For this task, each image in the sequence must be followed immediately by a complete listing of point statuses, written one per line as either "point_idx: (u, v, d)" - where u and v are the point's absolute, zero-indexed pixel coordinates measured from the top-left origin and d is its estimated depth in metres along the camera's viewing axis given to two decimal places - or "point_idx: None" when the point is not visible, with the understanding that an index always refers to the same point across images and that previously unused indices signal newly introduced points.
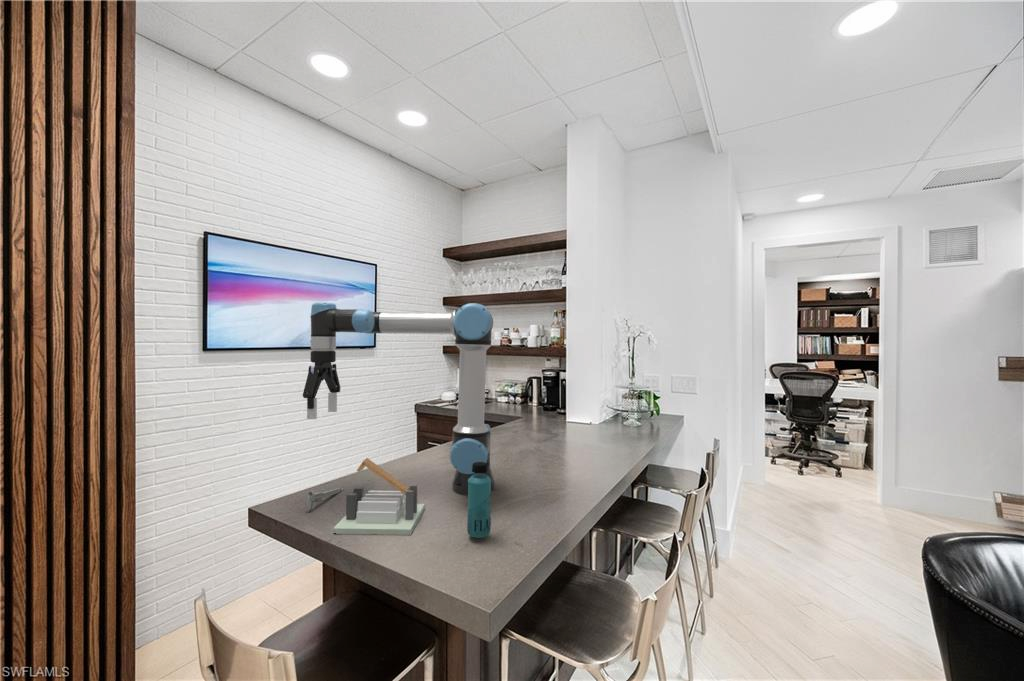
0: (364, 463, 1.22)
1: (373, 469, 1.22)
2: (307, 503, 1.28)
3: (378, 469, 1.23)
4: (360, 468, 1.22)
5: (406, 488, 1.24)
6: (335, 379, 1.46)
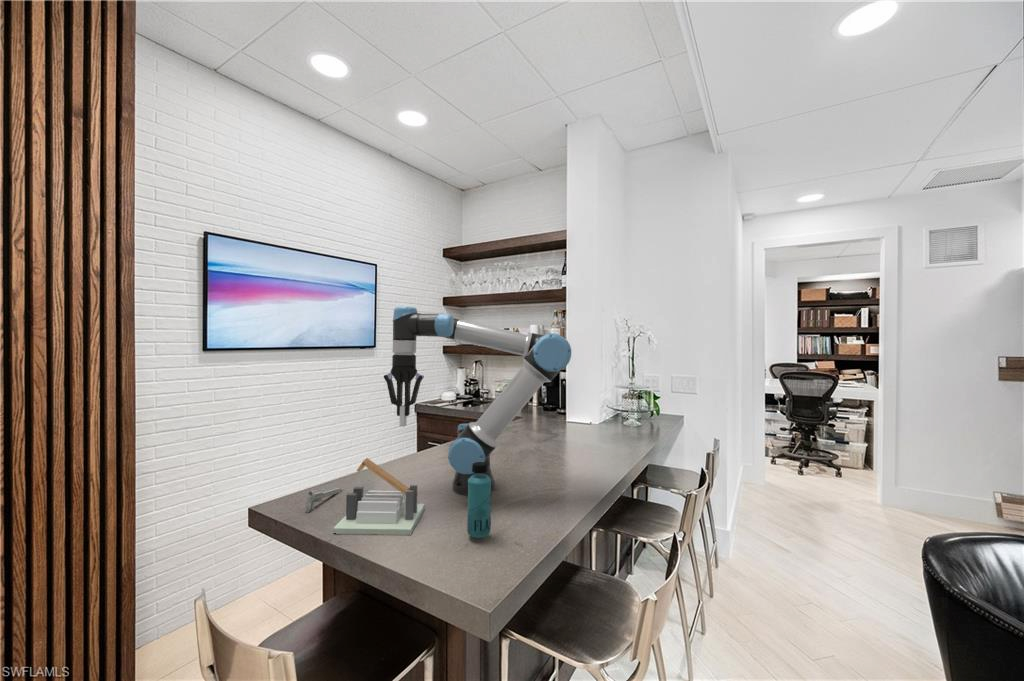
0: (364, 463, 1.22)
1: (373, 469, 1.22)
2: (307, 503, 1.28)
3: (378, 469, 1.23)
4: (360, 468, 1.22)
5: (406, 488, 1.24)
6: None
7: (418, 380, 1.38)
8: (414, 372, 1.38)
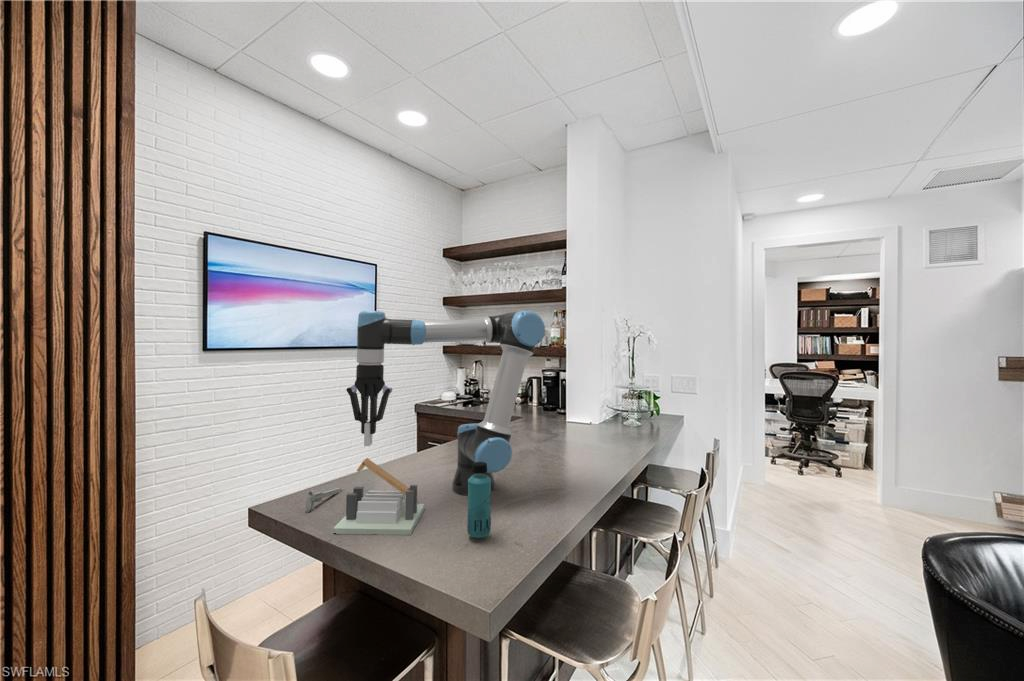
0: (364, 463, 1.22)
1: (373, 469, 1.22)
2: (307, 503, 1.28)
3: (378, 469, 1.23)
4: (360, 468, 1.22)
5: (406, 488, 1.24)
6: None
7: (385, 394, 1.22)
8: (381, 385, 1.23)
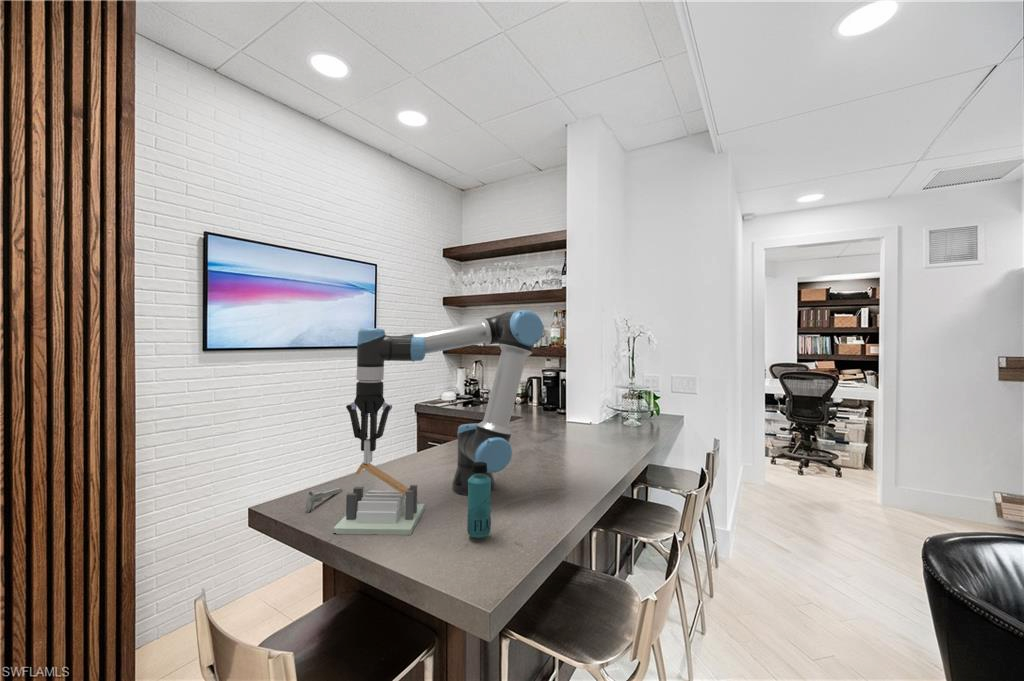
0: (362, 465, 1.22)
1: (372, 471, 1.22)
2: (307, 503, 1.28)
3: (377, 471, 1.23)
4: (359, 471, 1.22)
5: (406, 488, 1.24)
6: None
7: (385, 411, 1.22)
8: (381, 402, 1.23)
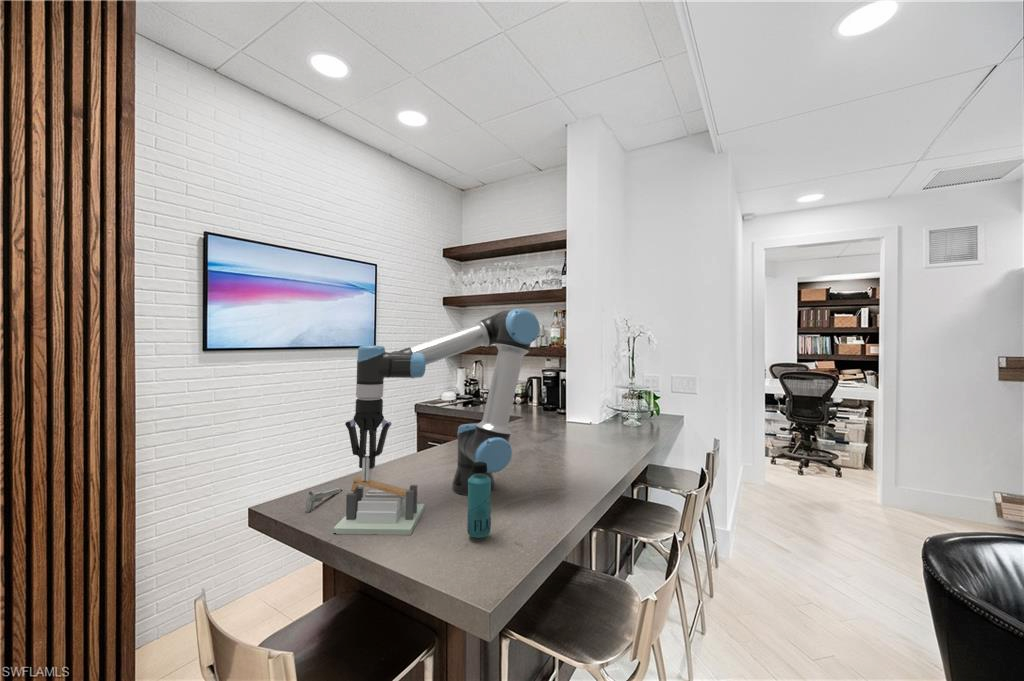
0: (355, 481, 1.22)
1: (366, 484, 1.22)
2: (307, 503, 1.28)
3: (371, 482, 1.23)
4: (353, 487, 1.22)
5: (404, 490, 1.24)
6: None
7: (384, 428, 1.22)
8: (380, 419, 1.23)
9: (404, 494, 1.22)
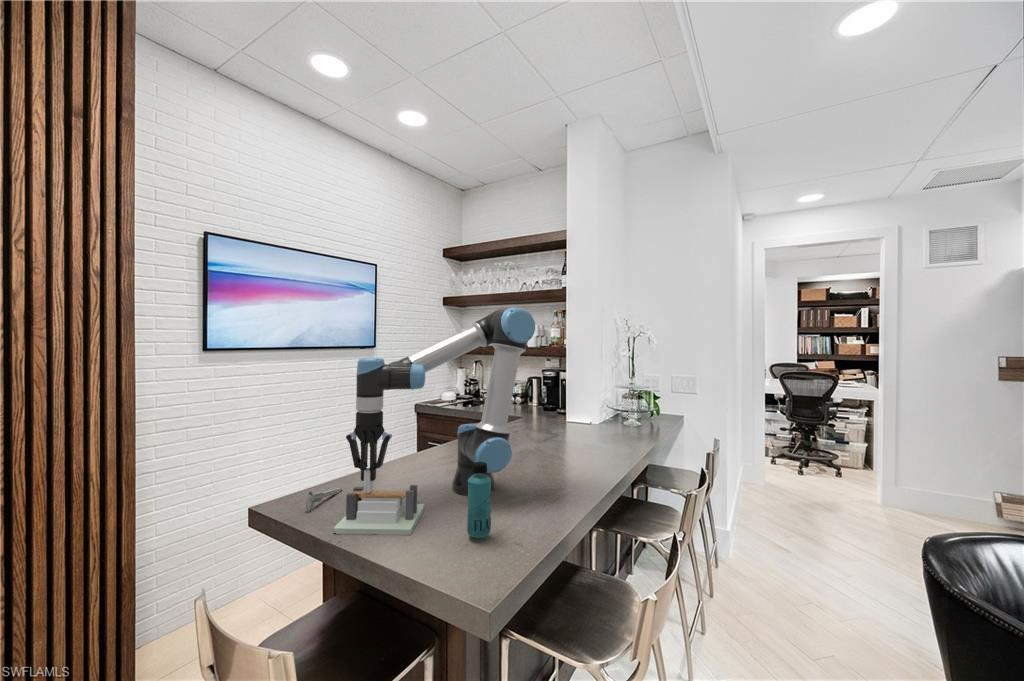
0: None
1: (364, 495, 1.22)
2: (307, 503, 1.28)
3: None
4: None
5: (404, 492, 1.24)
6: None
7: (385, 441, 1.22)
8: (380, 432, 1.23)
9: (404, 496, 1.22)
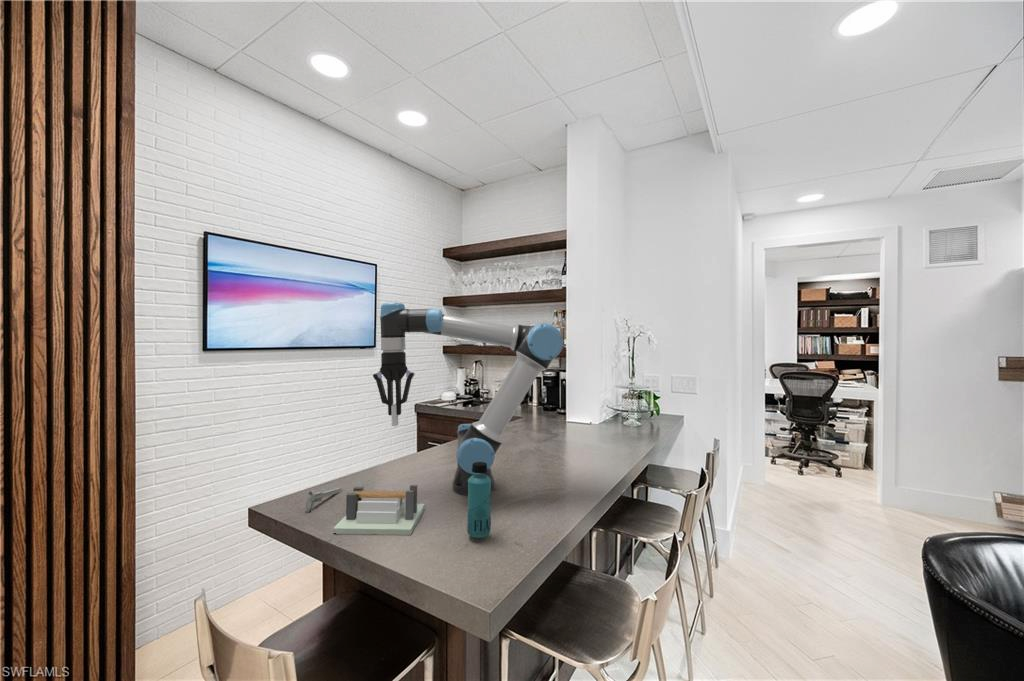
0: None
1: (364, 495, 1.22)
2: (307, 503, 1.28)
3: (369, 492, 1.23)
4: None
5: (404, 492, 1.24)
6: None
7: (409, 377, 1.34)
8: (405, 369, 1.34)
9: (404, 496, 1.22)
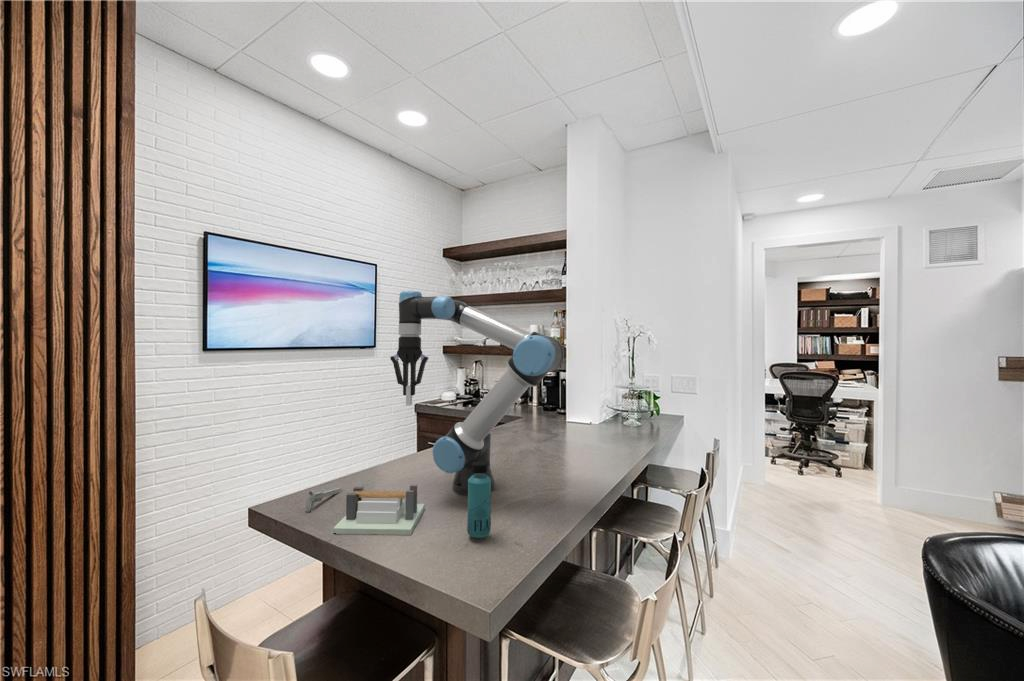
0: None
1: (364, 495, 1.22)
2: (307, 503, 1.28)
3: (369, 492, 1.23)
4: None
5: (404, 492, 1.24)
6: None
7: (423, 361, 1.44)
8: (419, 353, 1.45)
9: (404, 496, 1.22)
